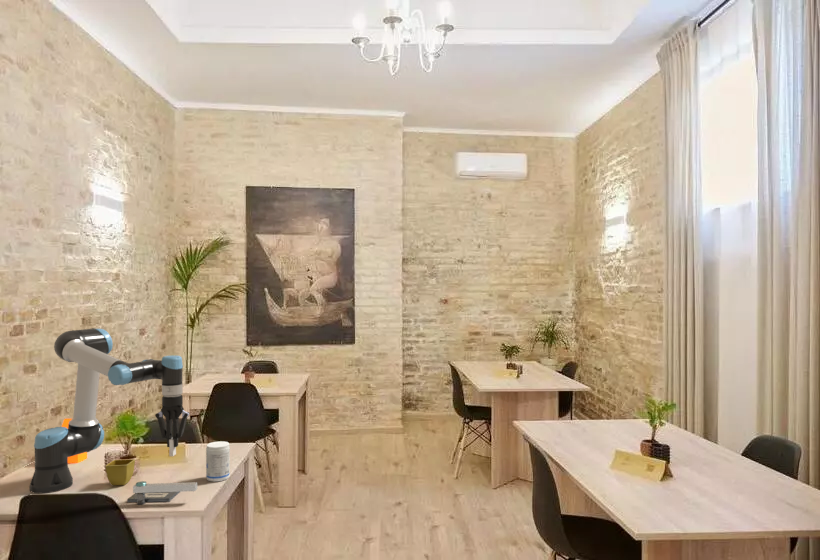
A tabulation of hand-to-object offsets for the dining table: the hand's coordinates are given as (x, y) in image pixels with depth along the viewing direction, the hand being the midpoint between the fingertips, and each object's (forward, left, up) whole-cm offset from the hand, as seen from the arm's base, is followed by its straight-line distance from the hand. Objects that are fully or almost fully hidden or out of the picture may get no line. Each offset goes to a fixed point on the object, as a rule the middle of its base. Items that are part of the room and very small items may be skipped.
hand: (172, 455), depth 231 cm
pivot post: (-9, -9, -16) cm, 20 cm away
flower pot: (-28, +14, -16) cm, 35 cm away
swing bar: (0, -8, -11) cm, 14 cm away
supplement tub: (+11, +19, -16) cm, 27 cm away
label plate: (-7, -1, -16) cm, 17 cm away
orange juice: (-67, +48, -16) cm, 84 cm away
